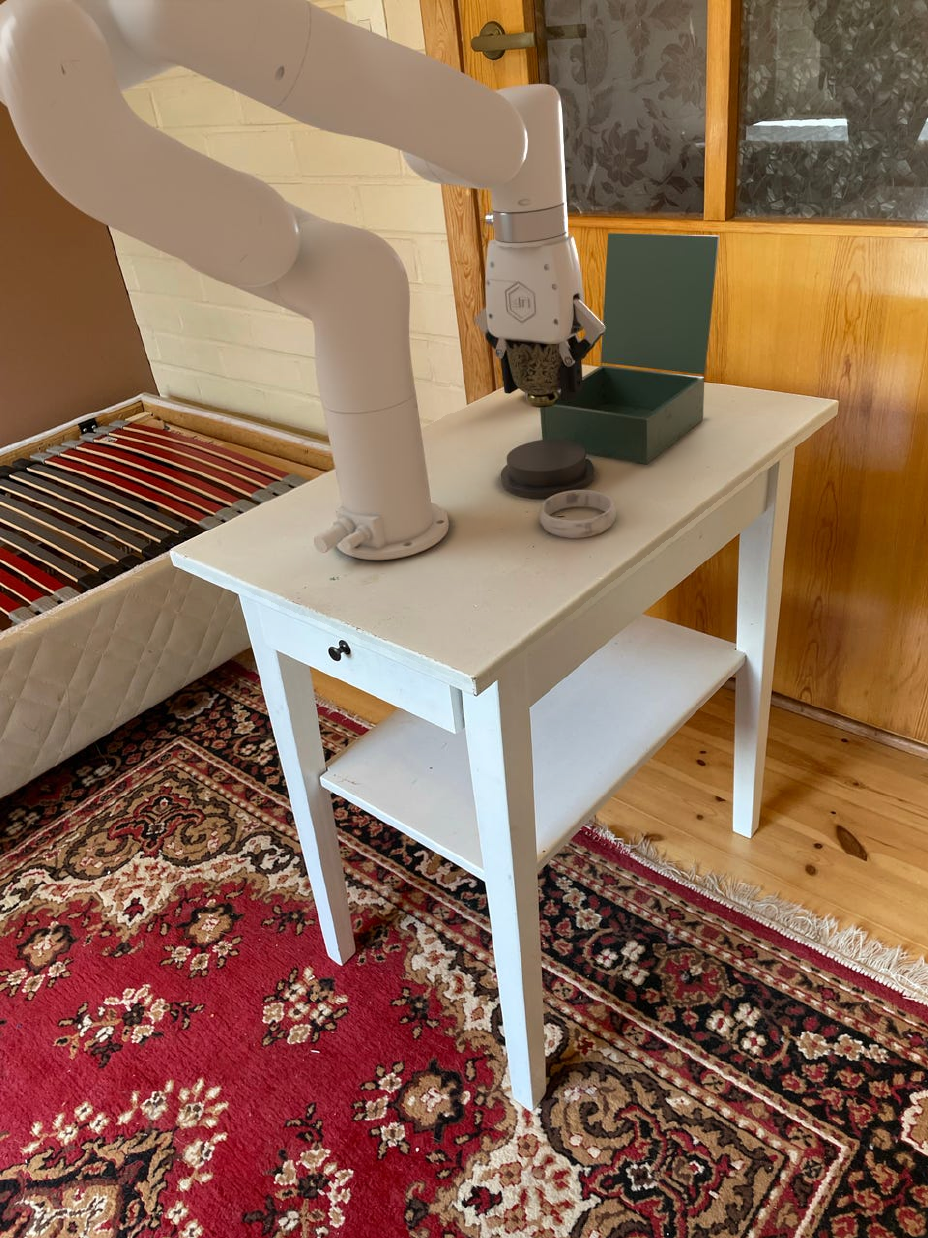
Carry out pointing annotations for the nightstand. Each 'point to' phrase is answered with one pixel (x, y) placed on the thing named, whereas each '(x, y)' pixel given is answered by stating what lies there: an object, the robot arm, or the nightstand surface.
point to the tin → (627, 413)
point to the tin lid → (659, 300)
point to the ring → (578, 526)
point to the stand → (546, 469)
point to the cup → (536, 370)
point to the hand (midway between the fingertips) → (542, 392)
